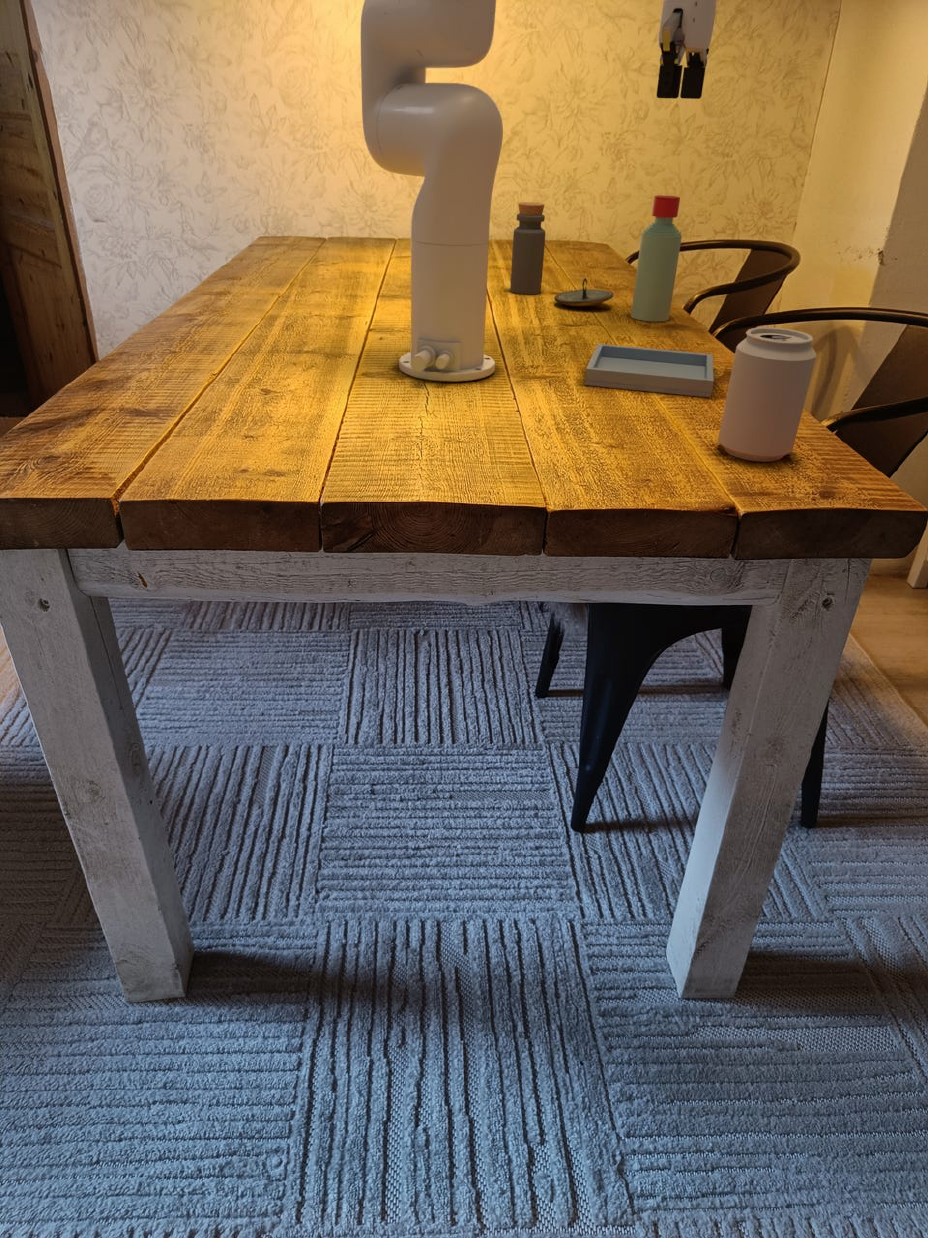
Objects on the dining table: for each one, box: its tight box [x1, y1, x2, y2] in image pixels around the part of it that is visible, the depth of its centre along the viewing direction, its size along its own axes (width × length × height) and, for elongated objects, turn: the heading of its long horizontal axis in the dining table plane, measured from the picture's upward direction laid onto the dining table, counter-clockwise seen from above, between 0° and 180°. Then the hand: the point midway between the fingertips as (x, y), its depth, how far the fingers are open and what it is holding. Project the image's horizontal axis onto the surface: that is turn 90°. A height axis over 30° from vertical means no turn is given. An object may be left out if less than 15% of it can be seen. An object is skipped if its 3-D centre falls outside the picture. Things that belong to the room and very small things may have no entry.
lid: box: [553, 277, 614, 308], centre depth 147 cm, size 11×10×5 cm
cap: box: [651, 194, 681, 219], centre depth 132 cm, size 4×4×3 cm
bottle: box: [509, 201, 546, 296], centre depth 153 cm, size 6×6×15 cm
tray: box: [584, 343, 715, 399], centre depth 109 cm, size 14×16×2 cm
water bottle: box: [630, 216, 683, 323], centre depth 137 cm, size 6×6×18 cm
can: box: [717, 326, 818, 463], centre depth 83 cm, size 8×8×12 cm
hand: (679, 98), depth 124 cm, fingers open, 9 cm apart
